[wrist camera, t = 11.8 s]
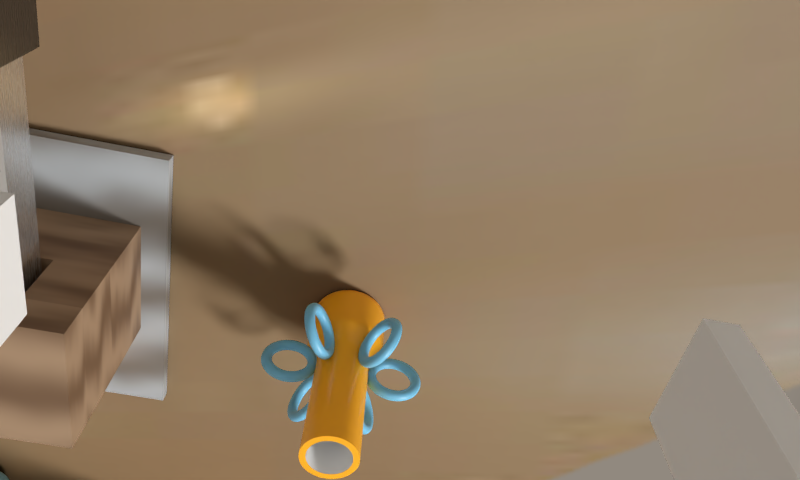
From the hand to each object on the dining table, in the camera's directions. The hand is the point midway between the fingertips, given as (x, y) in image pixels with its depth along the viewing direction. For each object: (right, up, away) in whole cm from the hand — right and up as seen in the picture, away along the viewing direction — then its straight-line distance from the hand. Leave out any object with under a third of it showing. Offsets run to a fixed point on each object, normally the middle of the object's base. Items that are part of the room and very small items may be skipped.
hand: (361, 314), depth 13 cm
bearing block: (-26, 0, +41) cm, 49 cm away
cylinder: (-3, -5, +44) cm, 44 cm away
